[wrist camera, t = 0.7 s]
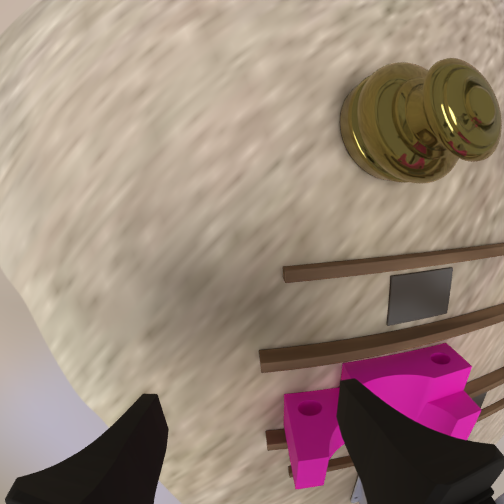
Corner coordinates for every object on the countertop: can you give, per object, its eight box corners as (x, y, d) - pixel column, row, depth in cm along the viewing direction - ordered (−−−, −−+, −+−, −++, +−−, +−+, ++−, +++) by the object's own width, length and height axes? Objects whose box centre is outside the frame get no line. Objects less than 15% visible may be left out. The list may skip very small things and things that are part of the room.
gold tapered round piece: (315, 122, 19) (381, 77, 9) (382, 61, 18) (463, 6, 8) (387, 203, 20) (485, 226, 10) (444, 138, 19) (542, 129, 9)
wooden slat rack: (509, 398, 26) (524, 414, 22) (268, 472, 26) (272, 502, 22) (550, 236, 21) (575, 244, 17) (252, 269, 20) (255, 290, 17)
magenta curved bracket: (444, 341, 23) (492, 385, 16) (429, 394, 25) (466, 441, 17) (284, 368, 23) (300, 437, 15) (283, 423, 24) (295, 489, 17)
